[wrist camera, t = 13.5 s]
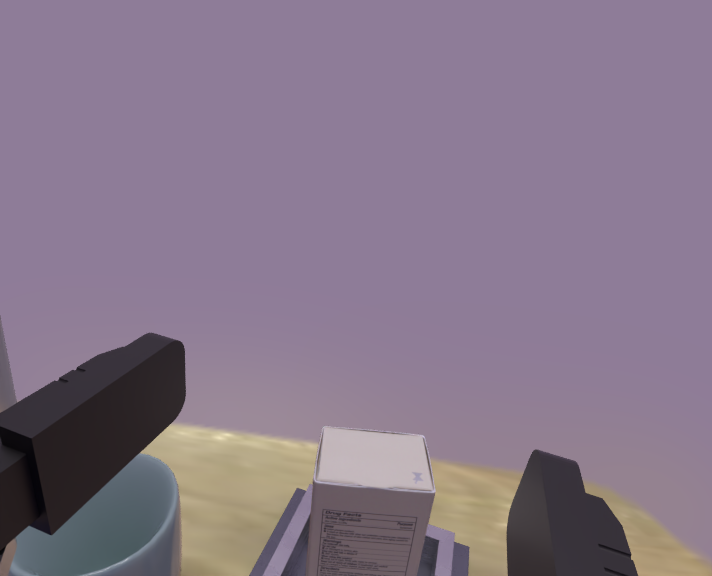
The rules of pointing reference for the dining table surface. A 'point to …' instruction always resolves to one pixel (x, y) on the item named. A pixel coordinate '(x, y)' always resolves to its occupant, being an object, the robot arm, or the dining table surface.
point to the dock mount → (290, 538)
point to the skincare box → (369, 503)
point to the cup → (113, 530)
